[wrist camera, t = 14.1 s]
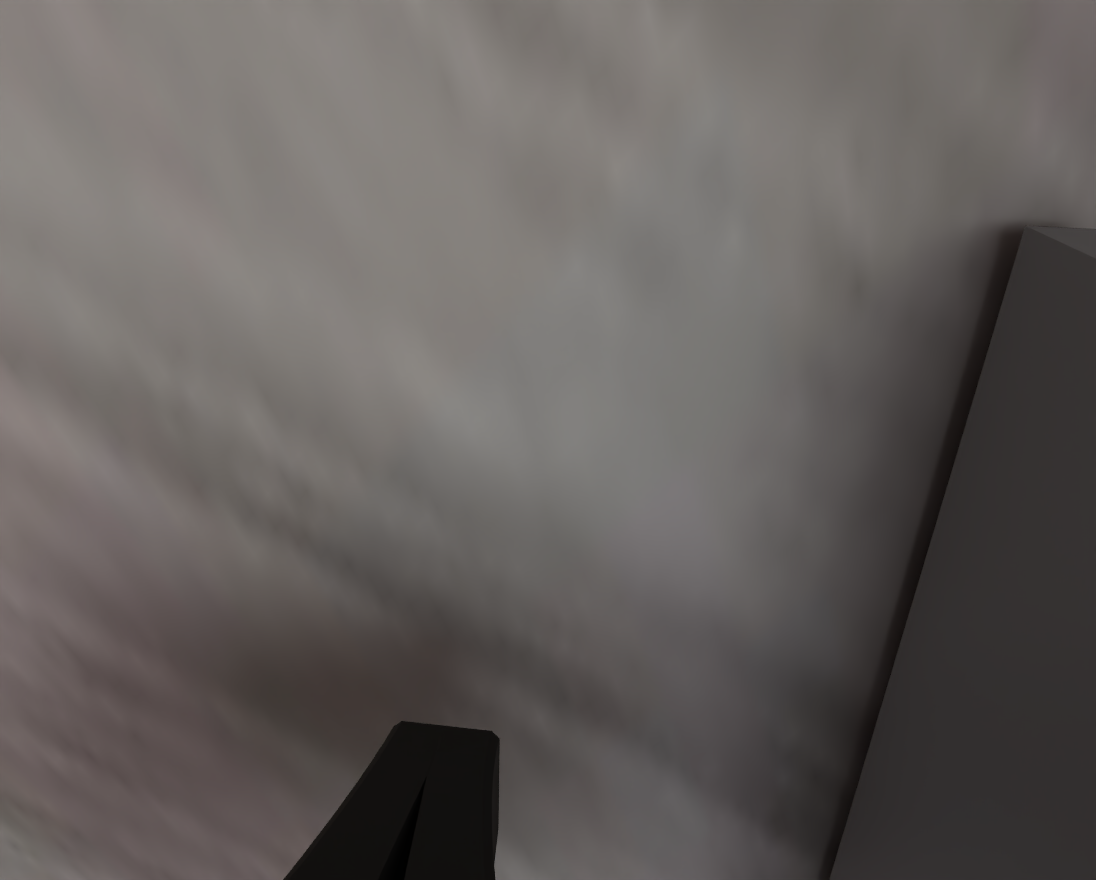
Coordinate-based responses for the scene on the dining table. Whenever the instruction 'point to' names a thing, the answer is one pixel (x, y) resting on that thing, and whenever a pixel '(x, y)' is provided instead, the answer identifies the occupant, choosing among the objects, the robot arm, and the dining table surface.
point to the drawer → (1002, 616)
